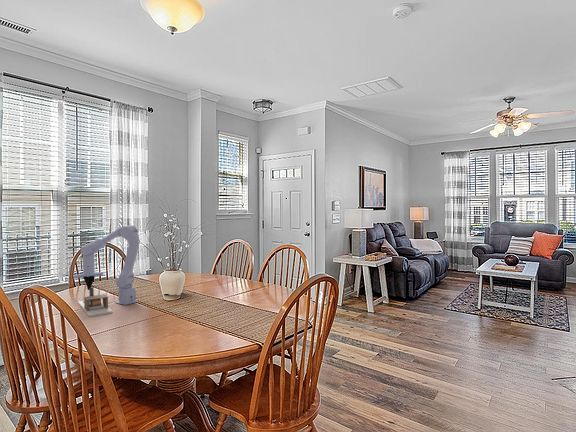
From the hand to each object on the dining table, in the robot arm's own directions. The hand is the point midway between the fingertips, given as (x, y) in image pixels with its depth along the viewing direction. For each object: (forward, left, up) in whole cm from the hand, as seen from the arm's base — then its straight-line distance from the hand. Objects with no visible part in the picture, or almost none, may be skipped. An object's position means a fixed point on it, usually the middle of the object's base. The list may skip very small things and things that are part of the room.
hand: (89, 289), depth 207 cm
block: (-18, +6, -6) cm, 20 cm away
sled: (-13, +5, -6) cm, 15 cm away
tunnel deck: (-13, +5, -7) cm, 16 cm away
